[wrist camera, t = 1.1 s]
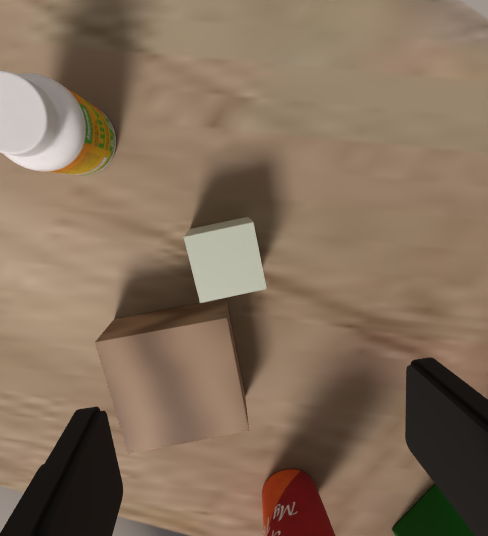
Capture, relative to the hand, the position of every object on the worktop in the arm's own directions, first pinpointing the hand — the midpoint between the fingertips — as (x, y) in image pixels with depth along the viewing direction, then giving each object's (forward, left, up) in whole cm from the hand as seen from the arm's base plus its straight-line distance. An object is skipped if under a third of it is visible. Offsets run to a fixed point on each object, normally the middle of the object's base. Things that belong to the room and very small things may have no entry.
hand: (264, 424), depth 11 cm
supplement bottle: (+10, -13, -20) cm, 26 cm away
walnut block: (+7, +7, -20) cm, 23 cm away
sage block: (+1, -2, -20) cm, 20 cm away
